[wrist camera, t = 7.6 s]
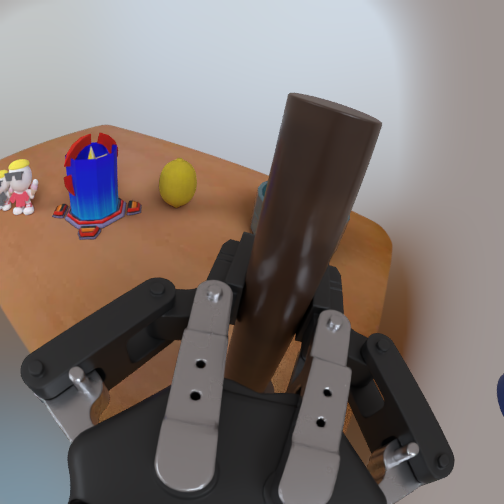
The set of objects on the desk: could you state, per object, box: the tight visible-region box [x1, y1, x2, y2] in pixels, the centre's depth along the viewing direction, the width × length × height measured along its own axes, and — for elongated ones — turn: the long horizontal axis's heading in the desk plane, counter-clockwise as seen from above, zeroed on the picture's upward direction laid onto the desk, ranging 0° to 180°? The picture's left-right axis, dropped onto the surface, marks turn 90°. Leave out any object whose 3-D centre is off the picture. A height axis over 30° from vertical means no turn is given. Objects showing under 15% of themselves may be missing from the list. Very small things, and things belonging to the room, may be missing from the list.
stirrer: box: [224, 93, 382, 393], centre depth 12 cm, size 4×4×18 cm
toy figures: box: [0, 159, 38, 215], centre depth 32 cm, size 12×4×8 cm, turn 89°
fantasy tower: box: [52, 133, 141, 240], centre depth 34 cm, size 12×12×12 cm
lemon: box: [159, 158, 197, 208], centre depth 40 cm, size 6×6×8 cm
